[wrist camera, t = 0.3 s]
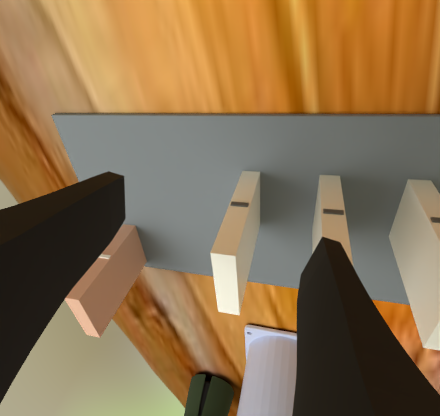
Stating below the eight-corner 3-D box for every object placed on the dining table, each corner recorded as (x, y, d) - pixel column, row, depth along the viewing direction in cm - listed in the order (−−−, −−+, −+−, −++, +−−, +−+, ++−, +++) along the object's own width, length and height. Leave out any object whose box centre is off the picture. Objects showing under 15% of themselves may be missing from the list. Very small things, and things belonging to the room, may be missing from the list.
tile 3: (329, 230, 21) (337, 332, 15) (312, 229, 21) (312, 328, 15) (340, 174, 18) (354, 269, 12) (319, 173, 18) (323, 265, 12)
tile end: (146, 261, 28) (99, 337, 22) (135, 259, 29) (86, 334, 22) (135, 224, 26) (78, 299, 19) (123, 223, 26) (63, 296, 20)
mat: (515, 315, 22) (517, 320, 21) (114, 258, 30) (112, 261, 30) (685, 114, 13) (695, 117, 13) (55, 113, 21) (51, 115, 21)
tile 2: (408, 238, 20) (453, 352, 13) (388, 236, 20) (423, 347, 14) (431, 179, 17) (501, 287, 11) (408, 177, 17) (462, 282, 11)
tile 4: (260, 224, 22) (239, 315, 16) (244, 222, 22) (218, 311, 16) (260, 170, 19) (235, 254, 13) (242, 169, 20) (210, 251, 13)
